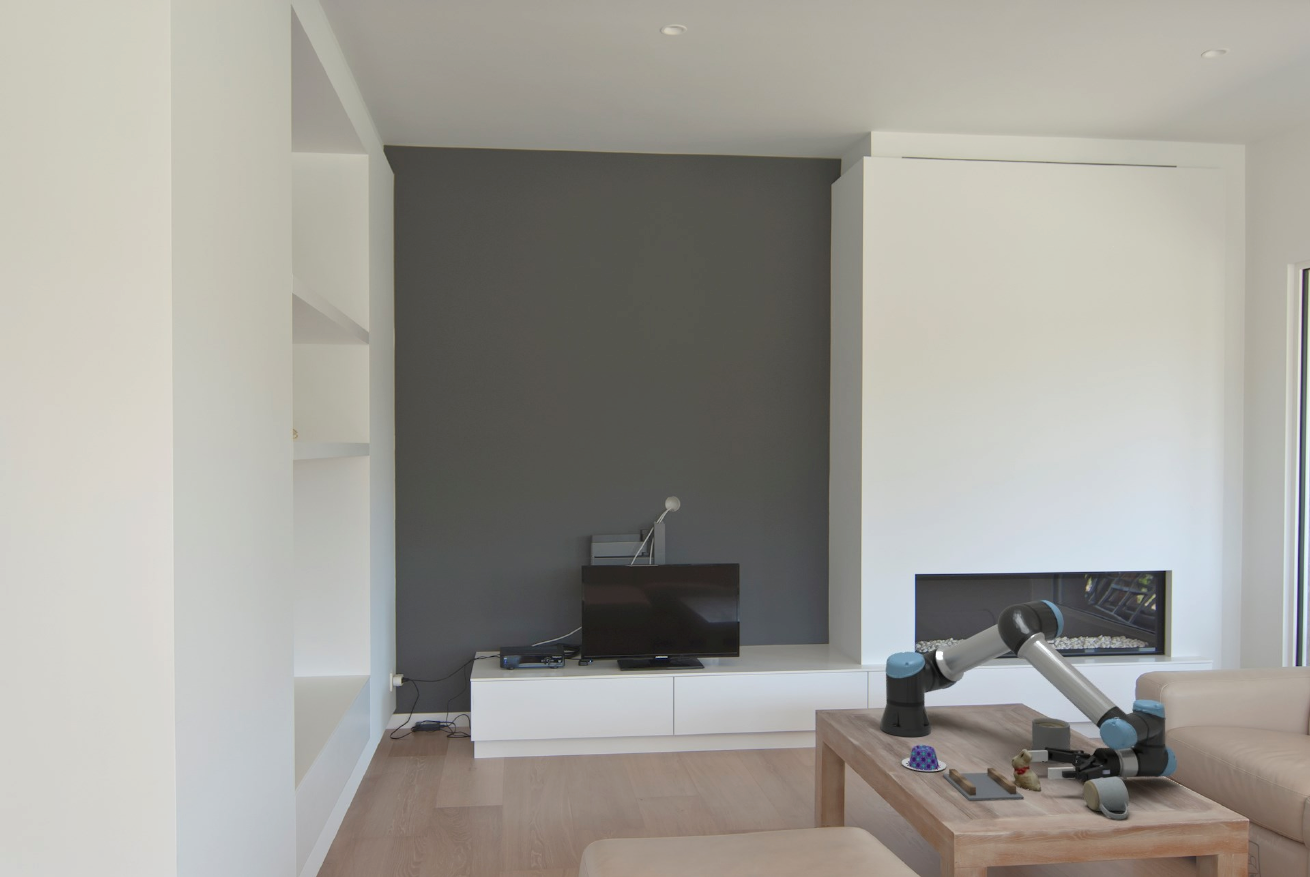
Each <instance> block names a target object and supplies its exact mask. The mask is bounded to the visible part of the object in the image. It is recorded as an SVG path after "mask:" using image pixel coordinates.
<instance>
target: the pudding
mask: <svg viewBox="0 0 1310 877" xmlns="http://www.w3.org/2000/svg"><path fill="white" fill-rule="evenodd" d="M908 761H909V763H908ZM906 763H908V764H906ZM901 765H902V766H904V767H905V768H908V769H911V770H915V771H920V772H925V771H927V772H937V771H942V770H945V769H946V767H947V764H946V763H945V762H944V761H941V759H940V760H939V759H938V757H937V753H936V750H935V748H934V747H932V746H930V745H924V744H922V745H921V744H918V745H915V746H913V747H912V749H911V753H910V757H907V758H904V759H902V760H901ZM907 765H909V766H907ZM939 765H941V766H940V767H941V768H939ZM912 767H913V768H912ZM919 769H920V770H919ZM923 769H924V770H923ZM932 769H936V770H932ZM937 769H938V770H937Z"/></svg>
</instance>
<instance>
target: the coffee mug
mask: <svg viewBox="0 0 1310 877" xmlns="http://www.w3.org/2000/svg"><path fill="white" fill-rule="evenodd" d="M1031 722H1032V723H1031V727H1032V728H1031V732H1032V737H1031V738H1032V740H1031V741H1032V751H1038V750H1045V747H1049V748H1059V749H1068V750H1071V736H1072V735H1071V724H1070V722H1068V721H1066V720H1063V719H1058V718H1051V717H1040V718H1039V717H1038V718H1037V717H1036V718H1034V719H1032V721H1031ZM1044 763H1047V764H1048V763H1049V764H1054V763H1062V764H1064V763H1063V762H1058V761H1052V760H1049V761H1048V762H1046V761H1044Z"/></svg>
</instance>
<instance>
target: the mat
mask: <svg viewBox="0 0 1310 877" xmlns="http://www.w3.org/2000/svg"><path fill="white" fill-rule="evenodd" d="M960 774H961V775H962V776H963V777H965V778H966V779H967V780H968V781H969V782H970V783H972V784H973V785H974V786H975V787H976V795H969V794H968V793H967V792H966V791H965V790H964V789H963V788H961V787H960V786H959V785H958V784H957V783H956V782H955V781H954V780H953V779H951V778H950V777H949V773H942V777H943V778H944V779H945V780H946V781H947V782H948V783H950V784H951V786H952V787H954V789H956V790H957V792H959V793H960V794H962V796H964V797H965V798H966V799H967V801H970V802H973V801H975V802H976V801H977V802H978V801H980V802H981V801H992V800H991V799H1014V800H1021V799H1020V798H1024V799H1025V797H1024V796H1023V795H1022V793H1020V792H1018V791H1017V790H1016V794H1010V793H1008V792H1007V791H1006V790H1005V789H1004V788H1002V787H1001V786H1000V785H999V784H997V783H996V782H995V781H994V780H993V779H991V778H990V777H989V776H988V775H987V772H969V773H968V772H967V773H966V772H965V773H960Z"/></svg>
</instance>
